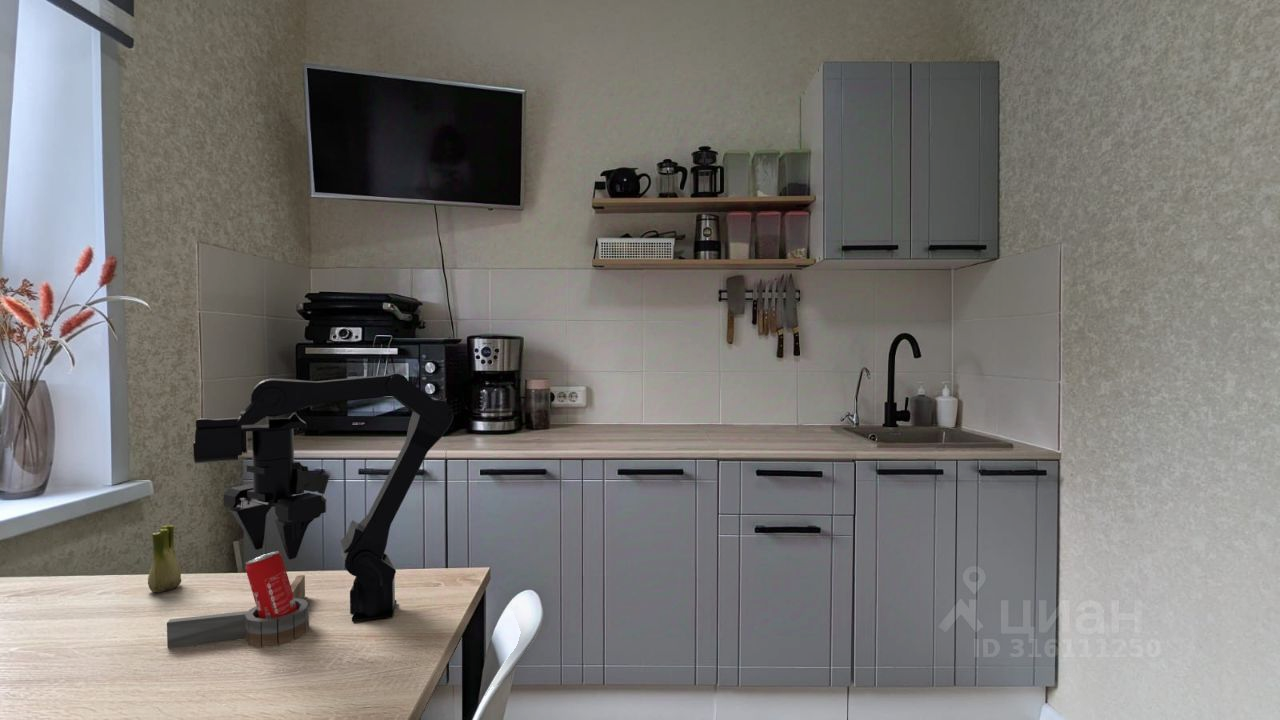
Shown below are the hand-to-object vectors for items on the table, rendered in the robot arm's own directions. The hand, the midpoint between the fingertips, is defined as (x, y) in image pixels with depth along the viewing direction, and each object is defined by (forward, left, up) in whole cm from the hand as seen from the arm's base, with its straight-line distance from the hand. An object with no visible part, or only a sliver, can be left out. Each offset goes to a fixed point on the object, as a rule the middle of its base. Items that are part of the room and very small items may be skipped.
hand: (275, 553), depth 100 cm
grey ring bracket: (+5, -5, -13) cm, 15 cm away
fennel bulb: (+26, -26, -13) cm, 39 cm away
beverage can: (-1, 0, -12) cm, 13 cm away
